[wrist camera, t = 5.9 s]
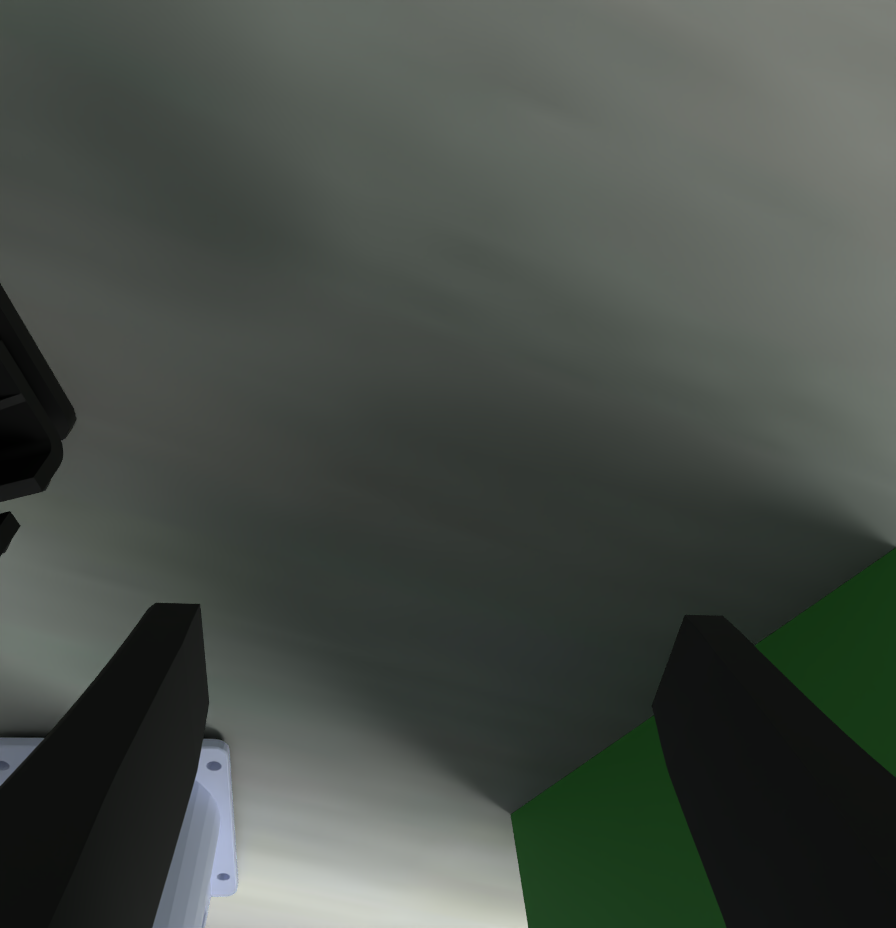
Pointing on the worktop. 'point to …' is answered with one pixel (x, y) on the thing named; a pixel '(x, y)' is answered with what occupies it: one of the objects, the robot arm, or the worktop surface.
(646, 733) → the green box
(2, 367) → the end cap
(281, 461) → the worktop surface
